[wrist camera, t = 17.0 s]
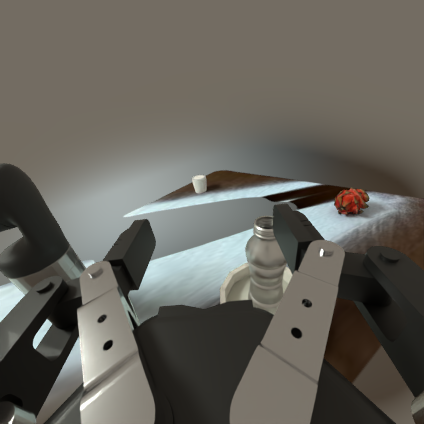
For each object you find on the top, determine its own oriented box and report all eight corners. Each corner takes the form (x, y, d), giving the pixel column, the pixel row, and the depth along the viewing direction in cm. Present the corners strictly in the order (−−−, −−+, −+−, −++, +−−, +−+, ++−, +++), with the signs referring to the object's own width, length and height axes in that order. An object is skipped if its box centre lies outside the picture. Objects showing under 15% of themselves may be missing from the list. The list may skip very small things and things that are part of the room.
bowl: (207, 298, 41) (204, 286, 39) (265, 263, 47) (266, 251, 45) (262, 383, 27) (262, 372, 25) (332, 319, 34) (337, 305, 32)
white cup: (208, 187, 95) (206, 173, 91) (207, 192, 89) (205, 178, 85) (194, 188, 95) (192, 175, 92) (193, 194, 89) (190, 180, 86)
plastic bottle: (284, 326, 33) (295, 238, 23) (246, 318, 35) (240, 234, 25) (283, 294, 38) (292, 211, 28) (250, 289, 40) (246, 210, 30)
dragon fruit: (359, 209, 64) (339, 227, 60) (340, 191, 66) (319, 207, 63) (382, 197, 56) (361, 216, 52) (360, 177, 59) (338, 194, 55)
